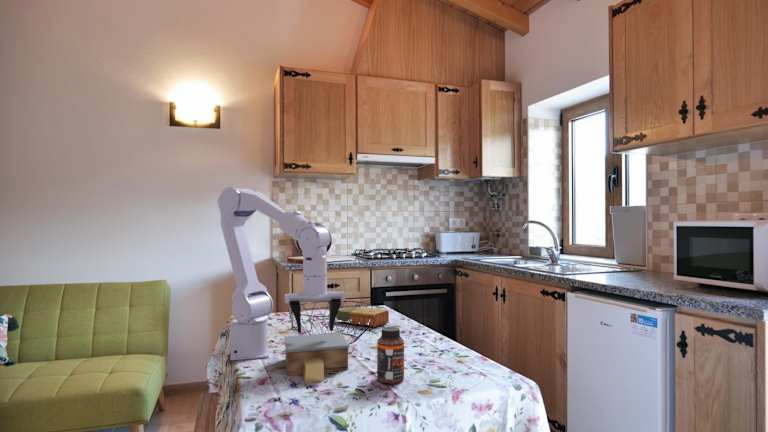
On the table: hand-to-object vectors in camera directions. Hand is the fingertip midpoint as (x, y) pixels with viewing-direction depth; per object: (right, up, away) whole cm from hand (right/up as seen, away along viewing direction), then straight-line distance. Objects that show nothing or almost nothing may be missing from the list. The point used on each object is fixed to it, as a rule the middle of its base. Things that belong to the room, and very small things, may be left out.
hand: (315, 330), depth 111 cm
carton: (+15, -10, +38) cm, 42 cm away
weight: (+1, -8, -10) cm, 13 cm away
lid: (0, -3, 0) cm, 3 cm away
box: (0, -8, 0) cm, 8 cm away
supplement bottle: (+18, -8, -11) cm, 23 cm away
